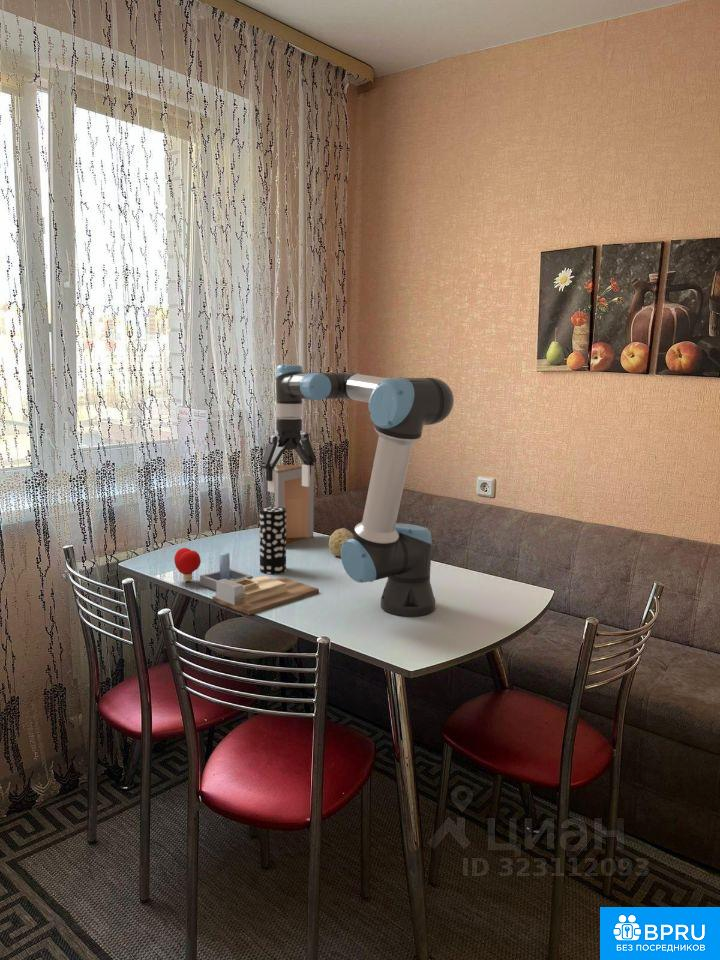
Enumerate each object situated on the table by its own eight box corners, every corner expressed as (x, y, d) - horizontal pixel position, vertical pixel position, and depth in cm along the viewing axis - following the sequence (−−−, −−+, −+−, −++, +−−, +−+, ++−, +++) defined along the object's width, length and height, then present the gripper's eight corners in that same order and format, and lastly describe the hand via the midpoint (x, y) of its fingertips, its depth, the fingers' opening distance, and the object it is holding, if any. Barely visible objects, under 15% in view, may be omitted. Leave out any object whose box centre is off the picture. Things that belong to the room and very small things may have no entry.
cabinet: (278, 548, 259) (278, 471, 254) (257, 544, 264) (257, 468, 259) (313, 537, 276) (313, 464, 271) (293, 533, 281) (293, 461, 276)
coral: (362, 533, 255) (353, 527, 246) (355, 561, 253) (345, 557, 244) (337, 528, 258) (327, 522, 249) (330, 556, 256) (320, 551, 247)
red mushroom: (206, 582, 219) (206, 550, 218) (186, 587, 214) (186, 555, 213) (189, 576, 226) (188, 544, 224) (169, 580, 221) (168, 548, 219)
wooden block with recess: (286, 591, 209) (286, 578, 208) (247, 602, 199) (247, 588, 198) (263, 583, 216) (263, 570, 215) (225, 594, 206) (225, 580, 205)
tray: (252, 585, 217) (252, 575, 217) (222, 594, 209) (222, 584, 209) (229, 577, 225) (229, 568, 224) (200, 585, 217) (199, 575, 216)
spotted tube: (281, 575, 228) (281, 512, 225) (256, 573, 230) (255, 511, 226) (289, 567, 236) (289, 507, 233) (264, 565, 238) (264, 505, 234)
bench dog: (243, 602, 199) (243, 585, 198) (234, 605, 197) (234, 587, 196) (225, 595, 204) (225, 578, 204) (216, 598, 202) (216, 580, 201)
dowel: (226, 580, 219) (226, 552, 218) (231, 583, 217) (231, 554, 216) (217, 582, 218) (217, 553, 216) (223, 585, 215) (222, 555, 214)
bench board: (318, 592, 212) (318, 588, 212) (248, 615, 193) (248, 610, 193) (282, 580, 223) (282, 576, 223) (212, 600, 204) (212, 596, 204)
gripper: (311, 414, 225) (310, 482, 229) (247, 419, 207) (248, 492, 211) (328, 416, 220) (327, 485, 224) (264, 421, 202) (265, 496, 206)
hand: (289, 489), depth 217 cm, fingers open, 13 cm apart
